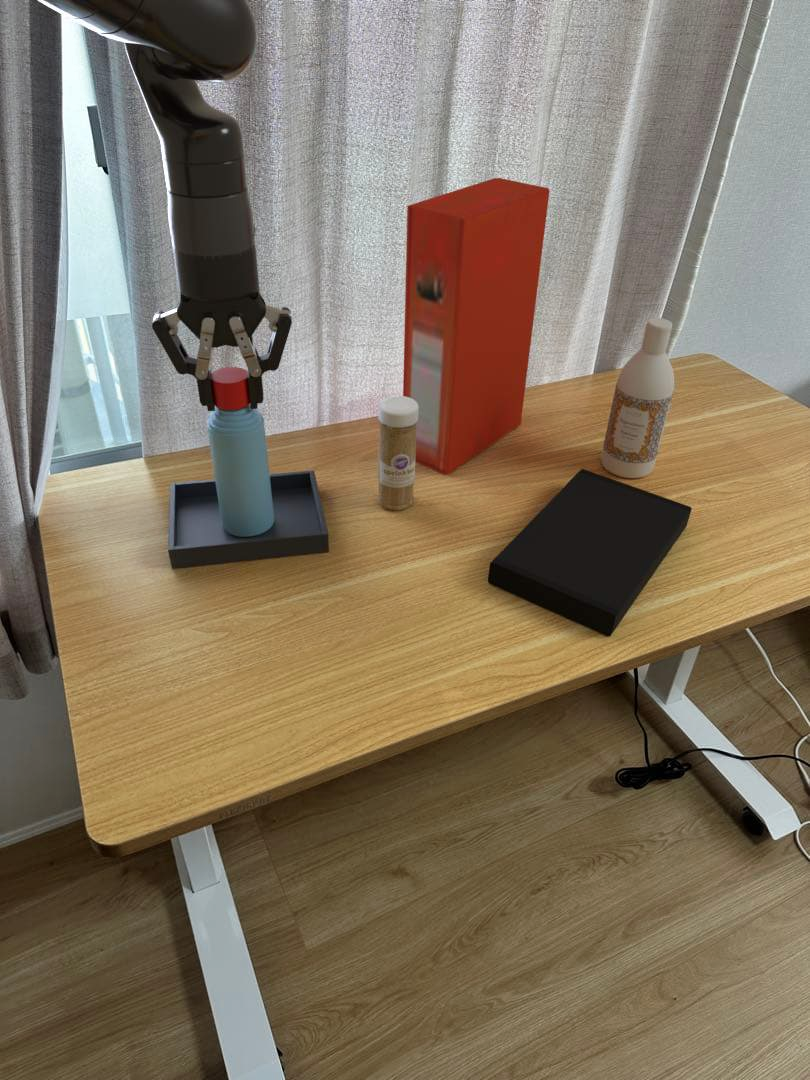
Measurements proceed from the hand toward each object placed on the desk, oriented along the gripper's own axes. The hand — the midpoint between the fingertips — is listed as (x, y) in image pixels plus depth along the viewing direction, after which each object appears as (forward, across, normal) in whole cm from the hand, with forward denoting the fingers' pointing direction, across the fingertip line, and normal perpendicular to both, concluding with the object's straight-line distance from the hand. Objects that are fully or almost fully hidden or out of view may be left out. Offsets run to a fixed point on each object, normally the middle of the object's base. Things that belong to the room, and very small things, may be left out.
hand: (233, 405), depth 85 cm
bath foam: (+16, +50, +8) cm, 53 cm away
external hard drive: (+16, +39, -10) cm, 43 cm away
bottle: (+15, 0, 0) cm, 15 cm away
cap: (0, 0, 0) cm, 0 cm away
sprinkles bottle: (+16, +18, +3) cm, 24 cm away
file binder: (+16, +29, +17) cm, 37 cm away
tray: (+16, 0, 0) cm, 16 cm away
